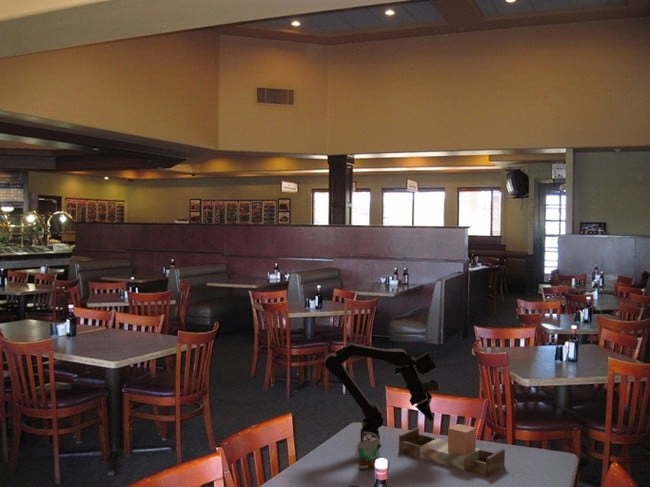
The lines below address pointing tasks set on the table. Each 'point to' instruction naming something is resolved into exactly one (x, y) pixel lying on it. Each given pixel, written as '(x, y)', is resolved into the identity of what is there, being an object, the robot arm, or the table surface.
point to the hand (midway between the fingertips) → (432, 420)
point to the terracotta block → (461, 439)
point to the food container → (368, 451)
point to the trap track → (450, 454)
